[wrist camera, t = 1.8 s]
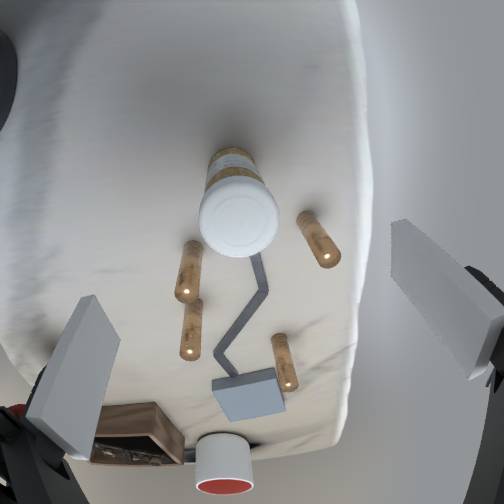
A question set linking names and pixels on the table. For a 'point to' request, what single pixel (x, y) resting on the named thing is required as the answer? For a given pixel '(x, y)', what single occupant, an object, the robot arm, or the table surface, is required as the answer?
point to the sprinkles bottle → (237, 206)
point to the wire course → (192, 322)
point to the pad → (249, 395)
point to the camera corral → (138, 432)
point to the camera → (132, 449)
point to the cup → (223, 464)
